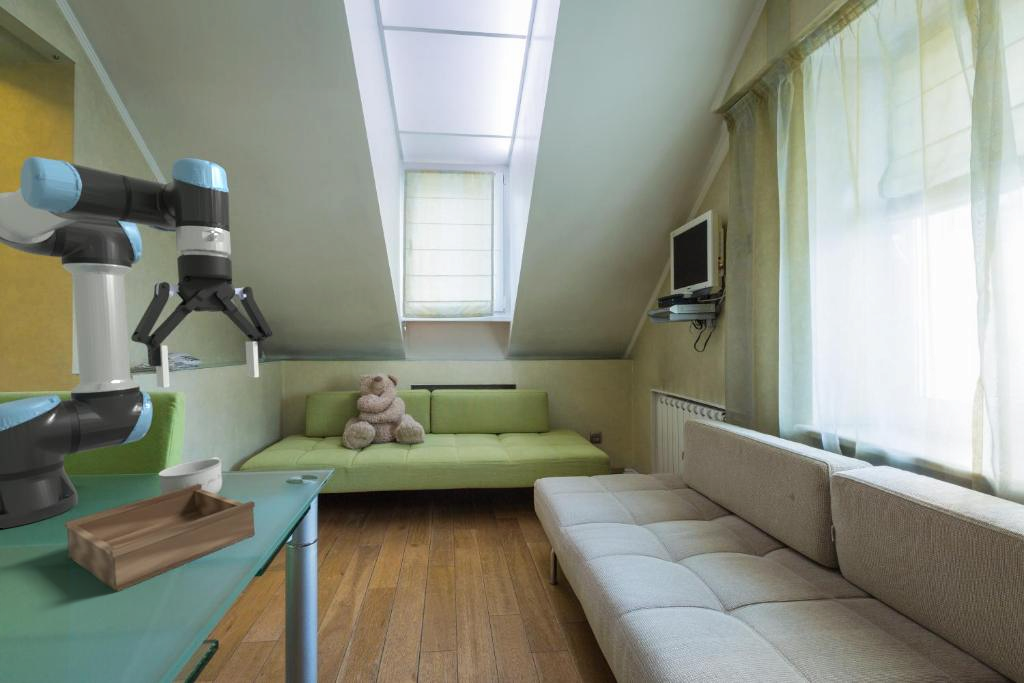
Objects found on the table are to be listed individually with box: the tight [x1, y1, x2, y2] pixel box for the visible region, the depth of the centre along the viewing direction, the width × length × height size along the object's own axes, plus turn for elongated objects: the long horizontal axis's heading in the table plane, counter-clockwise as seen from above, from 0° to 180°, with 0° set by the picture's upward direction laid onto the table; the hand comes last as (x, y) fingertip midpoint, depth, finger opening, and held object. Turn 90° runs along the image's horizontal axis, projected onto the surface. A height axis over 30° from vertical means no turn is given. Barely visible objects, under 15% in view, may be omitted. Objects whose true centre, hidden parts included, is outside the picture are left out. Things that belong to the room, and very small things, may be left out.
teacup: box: [158, 456, 223, 495], centre depth 96 cm, size 14×11×8 cm
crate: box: [64, 484, 256, 593], centre depth 75 cm, size 20×19×6 cm
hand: (211, 381), depth 76 cm, fingers open, 13 cm apart
